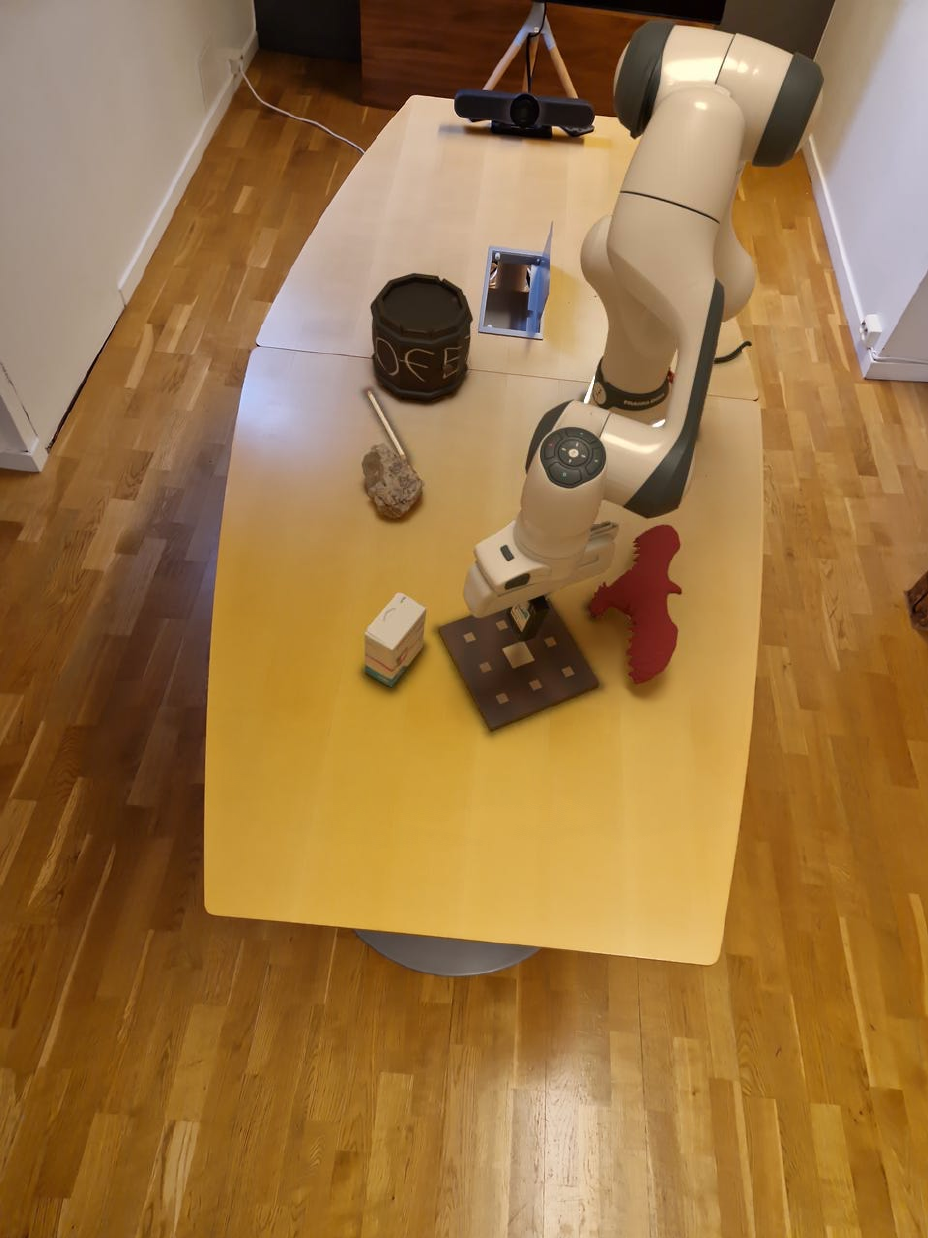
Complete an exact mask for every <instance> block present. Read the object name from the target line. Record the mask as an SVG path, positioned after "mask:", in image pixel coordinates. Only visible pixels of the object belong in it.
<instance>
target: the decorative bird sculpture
mask: <svg viewBox="0 0 928 1238" xmlns="http://www.w3.org/2000/svg"><path fill="white" fill-rule="evenodd" d="M632 543H633V545H632V548H636V550H634V551H633V552H632V554H633V555H637V556H635V557H634V558H633V559H632V561H633V562H634V564H632V565H631V569H627V570H626V571H625V572H623V573H622V574H620V575H619V576H618V578H617V579H616V580H615V581H614V582H612V583H611V584H610V585H609V586H607V581H603V583H602V585H600V584H599V585H598V587H597V591H594V592H593V597H591V599H590V603H589V605H588V607H587V608H588V609H589V615H590V616H592V617H595V618H596V619H598V618H599V617H600V620H603V619H604V616H605V613H606V612H607V611H608V610H609V609H611V608H614V609H616V610H617V611H618V612H620V613H622V614H623V615H624V616H626V617H628V618H630V619H629V620H628V621H629V622H630V623H632V624H634V625H632V626H629V627H628V628H627V629H628V631H629V632H631V633H633V635H632V636H631V637H628V638H627V639H626V642H628V644H631V645H630V647H628V648H627V649H625V655H626V656H630V659H629V660H628V662H627V665H628V666H629V667H630V668H631V669H632V670H630V671H628V672H627V675H628V676H629V677H630V679H631V680H632V682H633V684H634V685H642V684H645V683H647V682H649V681H652V680H653V679H654V678H655V677H656V676H658V675H660V674H661V673H663V672H664V671H665V670H666V668H667V667H668V666H669V663H670V662H671V659H672V657H673V654H674V652H675V651H676V648H677V645H678V644H677V643H678V635H679V629H678V626H677V624H675V623H674V622H673V620H672V618H671V616H670V614H669V610H668V597H669V595H670V594H671V595H672V594H676V595H679V596H681V595H682V594H683V589H682V587H681V586H679V584H677V583H675V582H674V581H672V580H671V579H670V577H669V568H670V564H671V562H672V561H673V558H674V557H675V556H676V555H677V553H678V552H679V550H680V549H681V545H682V544H681V541H680V536H679V533H678V530H676V528H675V527H673V525H670V524H660V525H655V526H652V527H651V528H648V529H647V530H645V531H643V532H642V533H640V534H639V535H638V536H637V537H635V539H634V540H633V541H632Z"/></svg>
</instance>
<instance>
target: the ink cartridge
mask: <svg viewBox="0 0 928 1238" xmlns="http://www.w3.org/2000/svg"><path fill="white" fill-rule="evenodd" d="M529 603H530V605H529V607H528V609H527V611H526V612H524V611H523V609H522V608H521V606H520V604H518V605H515V606H512V607H509V608H508V610H507V613H505V614H506V618H507V620H508V621H509V623H510V625H511V627H512V629H513V631H514V632H515V634H516V636H517V638H518V639H519V641H520V642H524V641H527V640H530V639H533V638H535V637H536V635H537V633H538V631H539V629H540V627H541V625H542V623H543V621H544V619H545V617H546V615H547V613H548V611H549V609H550V607H549V605H548V604H547V601H546V599H545V597H544V596H543V595H542V596H539V597H536V598H534V599H531V600H529Z"/></svg>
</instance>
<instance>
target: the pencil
mask: <svg viewBox="0 0 928 1238" xmlns="http://www.w3.org/2000/svg"><path fill="white" fill-rule="evenodd" d="M365 392H366V394H367V396H368V398H369V399H370V401H371V403H372V405H373V407H374V408H375V411H376V413H377V414H378V416H379V418H380V420H381V422H382V425H384V427H385V430H386V432H387V433H388V435H389V437H390V439H391V441H392V442H393V444H394V447H395V449H396V450H397V452H398V455H399V456H404V457H406V458H407V456H406V454H405V451H404V450H403V448H402V446H401V444H400V442H399V441H398V439H397V437H396V434H395V433H394V431H393V430H392V428H391V426H390V424H389V422H388V420H387V419H386V416H385V415H384V413H383V411H382V409H381V407H380V405H379V404H378V402H377V400H376V399H375V396H374V395H373V392H372V391H371V389H370V388H367V389H366V390H365Z"/></svg>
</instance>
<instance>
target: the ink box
mask: <svg viewBox="0 0 928 1238" xmlns="http://www.w3.org/2000/svg"><path fill="white" fill-rule="evenodd" d="M427 610H428V609H427V606H425V605H423V604H421V603H420V602H418V601H416V600H414V599H412V598H411V597H410V596H408V595H406V594H405V593H403V592H400V591H399V592H397V593H395V594H394V596H393V597H392V599H390V600H389V602H388V603H387V604H386V605H385V606H384V607H383V609H382V610H381V611H380V612H379V614H378V615H377V616H376V617H375V618H374V620H373V621H372V622H371V623H370V624H369V625H368V626H367V627H366V631H365V632H364V667H365V668H364V672H365V673H366V674H367V675H368V676H370V677H372V678H374V679H375V680H377V681H379V682H381V683H382V684H384V685H385V686H388V687H390V688H392V687H393V686H394V685H395V684H396V682H397V681H398V680H399V678H400V677H401V676H402V675H403V673H404V672H405V670H406V669H407V668H408V667H409V665H410V664H411V663H412V661H414V659H415V658H416V657H417V655H418V654H419V652H421V650H422V649H423V647H424V646H423V644H424V635H425V624H426V618H427V617H426V616H427Z"/></svg>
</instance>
